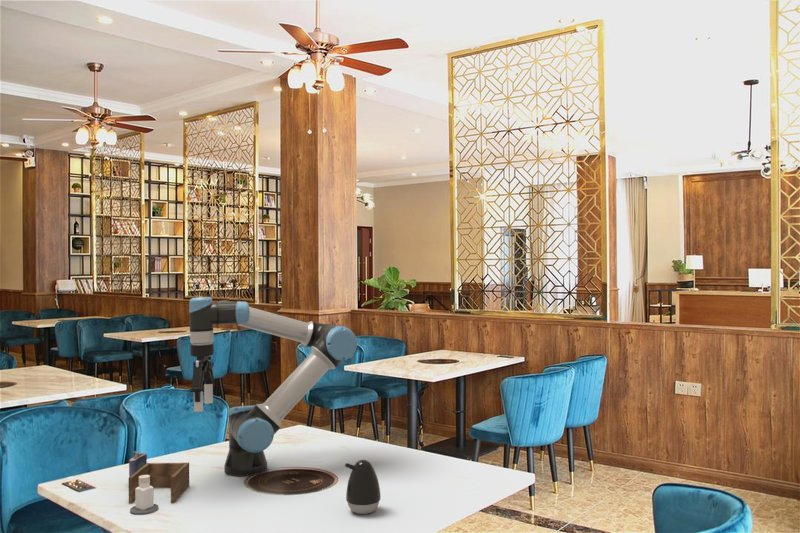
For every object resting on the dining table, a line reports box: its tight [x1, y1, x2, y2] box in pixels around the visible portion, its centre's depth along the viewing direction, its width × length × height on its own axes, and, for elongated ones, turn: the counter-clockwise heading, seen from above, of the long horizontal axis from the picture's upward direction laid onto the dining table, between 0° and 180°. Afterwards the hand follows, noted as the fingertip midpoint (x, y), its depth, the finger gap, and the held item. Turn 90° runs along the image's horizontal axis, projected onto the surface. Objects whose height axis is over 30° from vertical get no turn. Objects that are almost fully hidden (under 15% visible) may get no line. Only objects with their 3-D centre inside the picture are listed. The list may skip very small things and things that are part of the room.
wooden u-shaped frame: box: [128, 462, 190, 504], centre depth 219 cm, size 14×16×8 cm
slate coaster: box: [129, 503, 159, 516], centre depth 205 cm, size 8×8×1 cm
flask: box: [128, 450, 148, 478], centre depth 232 cm, size 9×3×11 cm, turn 172°
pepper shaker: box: [134, 475, 155, 510], centre depth 205 cm, size 4×4×10 cm
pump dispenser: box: [344, 459, 381, 515], centre depth 202 cm, size 10×10×15 cm
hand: (203, 407), depth 227 cm, fingers open, 13 cm apart
